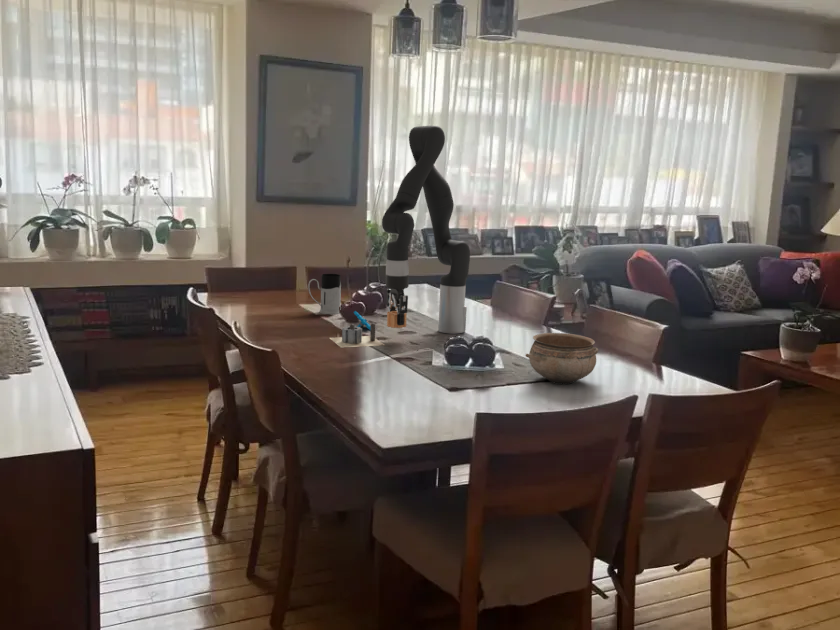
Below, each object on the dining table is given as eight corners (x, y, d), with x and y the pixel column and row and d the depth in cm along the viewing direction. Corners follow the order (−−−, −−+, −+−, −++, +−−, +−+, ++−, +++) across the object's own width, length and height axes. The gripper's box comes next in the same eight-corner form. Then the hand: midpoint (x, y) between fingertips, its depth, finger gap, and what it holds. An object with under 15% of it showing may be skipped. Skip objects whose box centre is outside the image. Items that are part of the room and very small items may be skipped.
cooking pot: (544, 394, 205) (548, 350, 203) (505, 376, 221) (508, 335, 219) (616, 385, 216) (620, 343, 214) (574, 369, 233) (577, 330, 230)
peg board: (371, 339, 261) (372, 318, 260) (385, 348, 249) (385, 327, 247) (329, 341, 256) (329, 320, 254) (340, 351, 243) (341, 329, 242)
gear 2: (402, 323, 258) (402, 310, 257) (409, 327, 252) (409, 314, 252) (384, 324, 256) (384, 311, 255) (391, 328, 250) (391, 315, 249)
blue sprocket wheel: (375, 330, 267) (356, 310, 266) (363, 342, 267) (343, 321, 266) (375, 328, 278) (357, 308, 277) (364, 339, 278) (345, 319, 277)
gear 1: (353, 338, 256) (353, 325, 255) (365, 342, 251) (365, 328, 251) (338, 341, 251) (338, 327, 251) (350, 344, 247) (350, 331, 246)
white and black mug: (345, 313, 305) (346, 276, 302) (313, 315, 297) (313, 277, 294) (334, 309, 312) (335, 273, 309) (303, 311, 304) (303, 274, 301)
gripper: (416, 276, 245) (415, 326, 249) (400, 269, 258) (399, 317, 262) (394, 277, 243) (393, 328, 246) (379, 270, 255) (378, 319, 259)
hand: (396, 322), depth 254 cm, fingers closed on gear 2, 6 cm apart
